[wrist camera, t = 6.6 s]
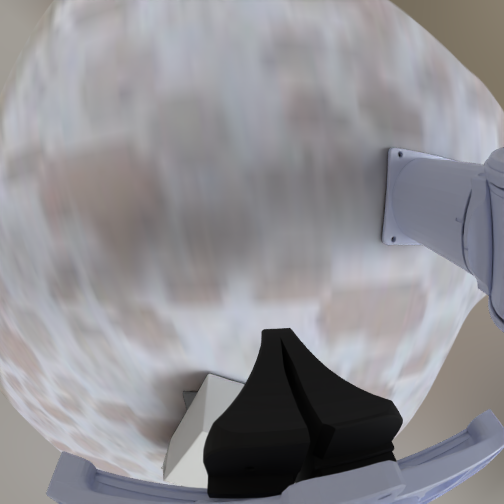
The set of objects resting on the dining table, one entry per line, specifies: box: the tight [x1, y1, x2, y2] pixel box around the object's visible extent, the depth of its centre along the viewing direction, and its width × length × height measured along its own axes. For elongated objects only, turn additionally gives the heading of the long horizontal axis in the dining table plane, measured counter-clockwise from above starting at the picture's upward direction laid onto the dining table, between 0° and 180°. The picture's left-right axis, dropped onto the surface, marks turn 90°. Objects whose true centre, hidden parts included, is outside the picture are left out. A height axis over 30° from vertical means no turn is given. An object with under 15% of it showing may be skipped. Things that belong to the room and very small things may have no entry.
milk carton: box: [161, 374, 245, 488], centre depth 24 cm, size 7×7×19 cm
